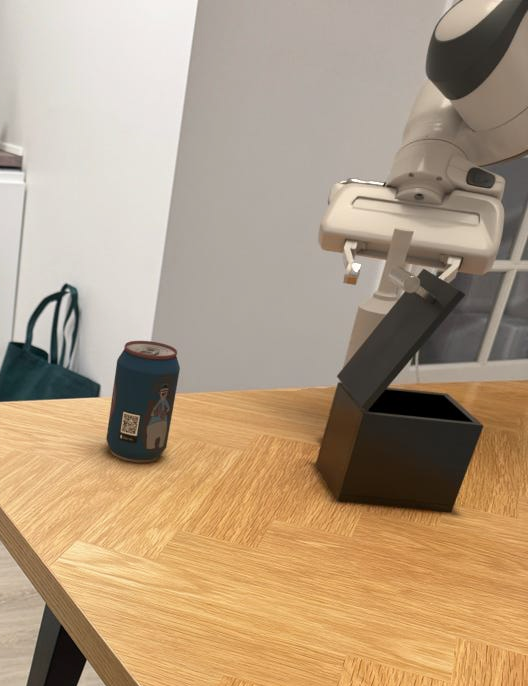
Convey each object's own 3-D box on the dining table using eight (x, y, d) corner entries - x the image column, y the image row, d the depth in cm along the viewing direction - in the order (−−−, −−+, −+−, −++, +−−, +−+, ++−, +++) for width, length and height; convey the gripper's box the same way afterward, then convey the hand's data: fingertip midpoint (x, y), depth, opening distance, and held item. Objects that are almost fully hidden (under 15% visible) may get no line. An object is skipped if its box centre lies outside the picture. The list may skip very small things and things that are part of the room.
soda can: (118, 437, 106) (132, 335, 100) (172, 451, 104) (191, 347, 98) (95, 454, 101) (109, 347, 94) (152, 469, 99) (170, 361, 92)
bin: (419, 474, 106) (447, 393, 100) (451, 512, 97) (484, 425, 91) (315, 464, 105) (337, 382, 100) (337, 501, 96) (363, 413, 91)
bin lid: (429, 272, 93) (396, 247, 92) (466, 294, 84) (430, 267, 83) (341, 380, 100) (310, 357, 98) (367, 411, 91) (333, 387, 90)
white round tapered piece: (340, 454, 109) (403, 233, 95) (313, 439, 113) (370, 224, 99) (372, 451, 111) (438, 234, 97) (344, 436, 115) (405, 225, 101)
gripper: (337, 157, 106) (303, 255, 104) (520, 180, 100) (488, 285, 98) (333, 195, 112) (300, 289, 110) (506, 220, 106) (475, 319, 104)
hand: (390, 288), depth 104 cm, fingers open, 8 cm apart
